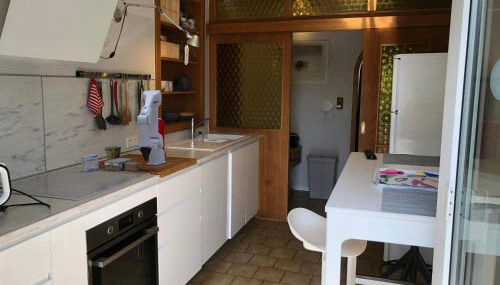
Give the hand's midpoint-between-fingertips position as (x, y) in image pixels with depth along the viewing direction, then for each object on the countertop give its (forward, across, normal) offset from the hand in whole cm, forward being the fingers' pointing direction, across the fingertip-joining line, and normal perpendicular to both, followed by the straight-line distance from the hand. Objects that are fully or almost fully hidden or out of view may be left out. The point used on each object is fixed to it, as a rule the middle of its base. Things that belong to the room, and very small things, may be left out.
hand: (146, 160), depth 237 cm
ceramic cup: (+6, -35, +12) cm, 37 cm away
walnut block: (+6, -9, -1) cm, 11 cm away
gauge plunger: (+5, -18, -1) cm, 18 cm away
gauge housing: (+6, -20, 0) cm, 21 cm away
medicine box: (+6, -32, -10) cm, 34 cm away
